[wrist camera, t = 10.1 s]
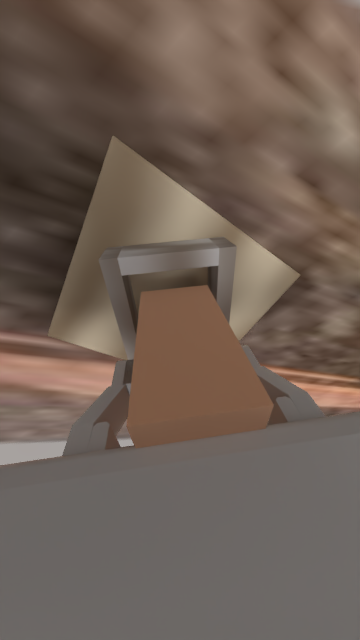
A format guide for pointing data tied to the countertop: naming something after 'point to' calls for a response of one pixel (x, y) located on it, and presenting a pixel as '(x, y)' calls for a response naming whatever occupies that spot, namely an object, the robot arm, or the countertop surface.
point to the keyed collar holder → (157, 258)
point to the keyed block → (190, 372)
